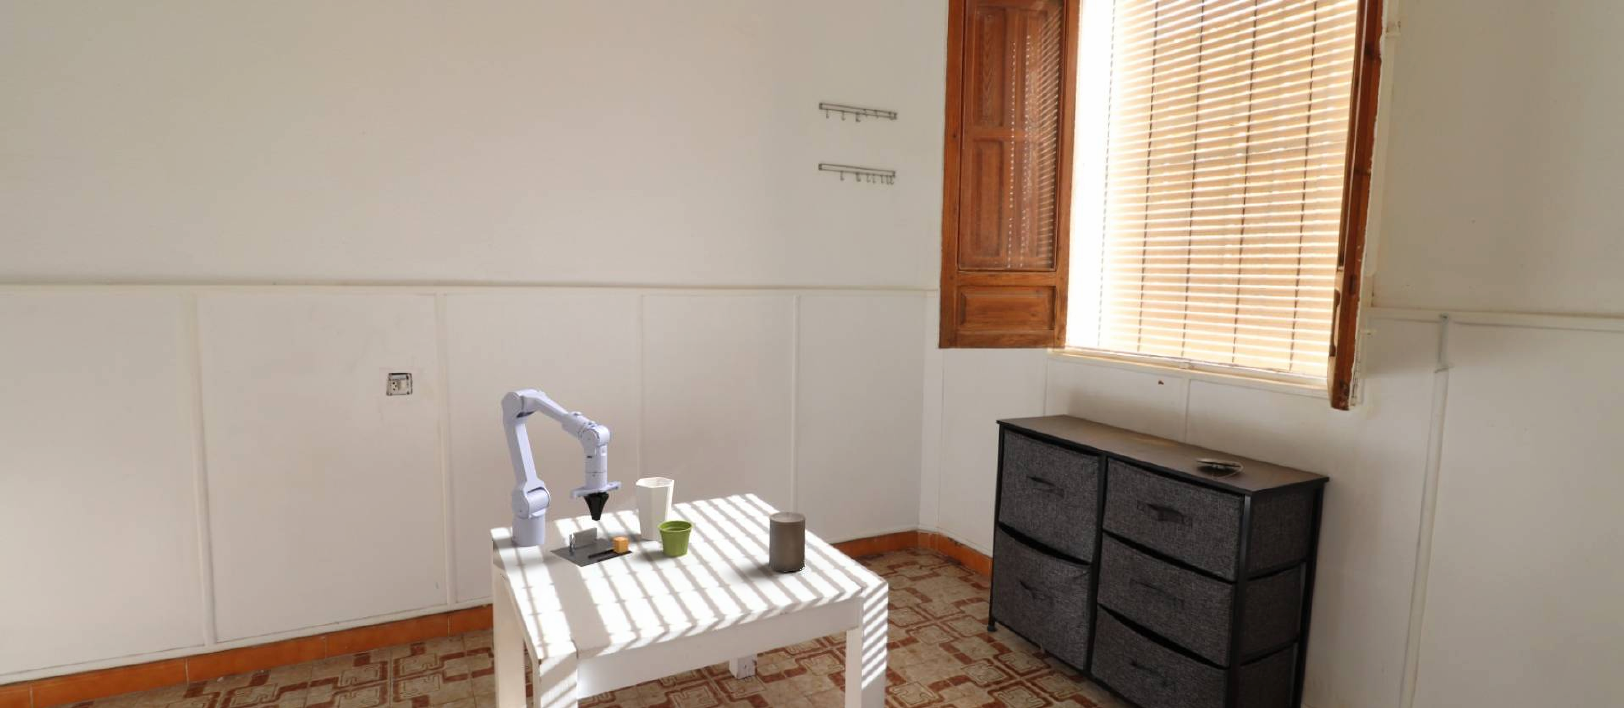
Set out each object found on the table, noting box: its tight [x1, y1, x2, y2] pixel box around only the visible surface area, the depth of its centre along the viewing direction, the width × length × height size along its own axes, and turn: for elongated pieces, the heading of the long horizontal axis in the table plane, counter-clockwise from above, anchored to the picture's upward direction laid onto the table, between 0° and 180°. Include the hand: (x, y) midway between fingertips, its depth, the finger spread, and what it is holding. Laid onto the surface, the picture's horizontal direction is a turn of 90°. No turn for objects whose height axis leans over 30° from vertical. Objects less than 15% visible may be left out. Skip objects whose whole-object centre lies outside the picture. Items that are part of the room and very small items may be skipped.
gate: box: [572, 526, 598, 548], centre depth 221 cm, size 7×1×4 cm, turn 138°
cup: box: [634, 476, 675, 543], centre depth 229 cm, size 11×10×17 cm
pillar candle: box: [768, 511, 806, 572], centre depth 212 cm, size 10×10×15 cm
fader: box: [613, 536, 629, 553], centre depth 216 cm, size 3×3×4 cm
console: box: [549, 533, 634, 568], centre depth 216 cm, size 16×16×5 cm
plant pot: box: [658, 519, 694, 558], centre depth 217 cm, size 9×9×9 cm
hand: (595, 519), depth 214 cm, fingers closed
